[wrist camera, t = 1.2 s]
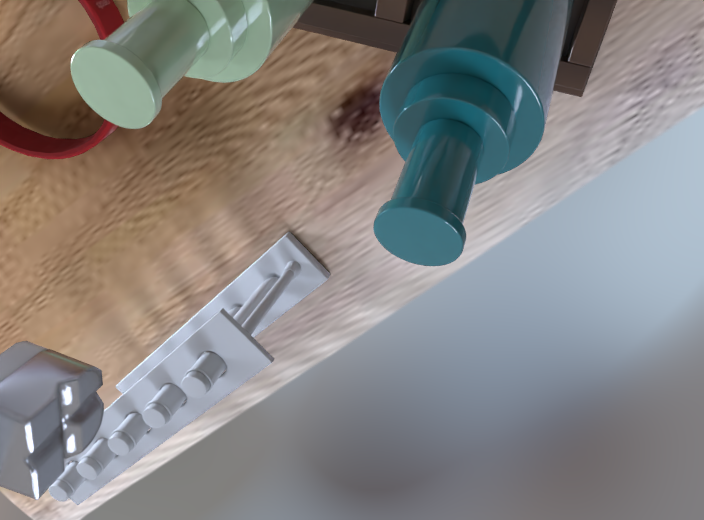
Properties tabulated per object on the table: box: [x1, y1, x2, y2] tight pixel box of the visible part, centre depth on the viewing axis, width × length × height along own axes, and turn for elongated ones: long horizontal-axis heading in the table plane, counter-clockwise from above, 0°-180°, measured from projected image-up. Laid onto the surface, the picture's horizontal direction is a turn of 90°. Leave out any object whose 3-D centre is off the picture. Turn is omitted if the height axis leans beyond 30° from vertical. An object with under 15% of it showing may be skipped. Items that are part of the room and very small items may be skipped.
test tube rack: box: [49, 232, 330, 505], centre depth 45 cm, size 25×4×13 cm, turn 135°
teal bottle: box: [374, 0, 574, 266], centre depth 25 cm, size 6×6×18 cm
